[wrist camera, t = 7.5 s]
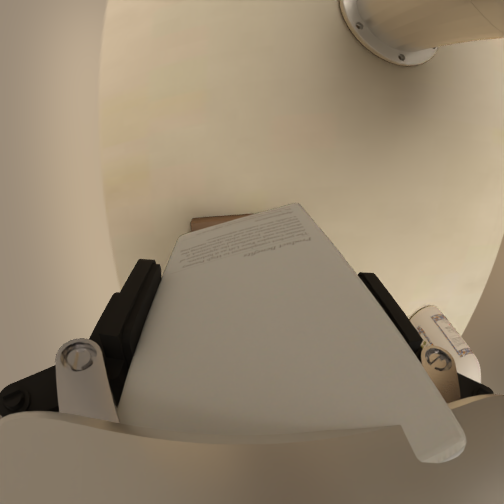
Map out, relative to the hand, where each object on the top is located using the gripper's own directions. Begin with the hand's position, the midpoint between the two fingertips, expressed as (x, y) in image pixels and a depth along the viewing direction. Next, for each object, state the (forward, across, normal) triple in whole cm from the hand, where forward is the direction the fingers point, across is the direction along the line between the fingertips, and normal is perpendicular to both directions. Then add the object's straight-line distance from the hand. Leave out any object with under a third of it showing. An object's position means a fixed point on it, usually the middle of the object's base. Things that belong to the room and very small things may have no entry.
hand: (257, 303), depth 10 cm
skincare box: (+4, 0, 0) cm, 4 cm away
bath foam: (+20, -30, +18) cm, 40 cm away
